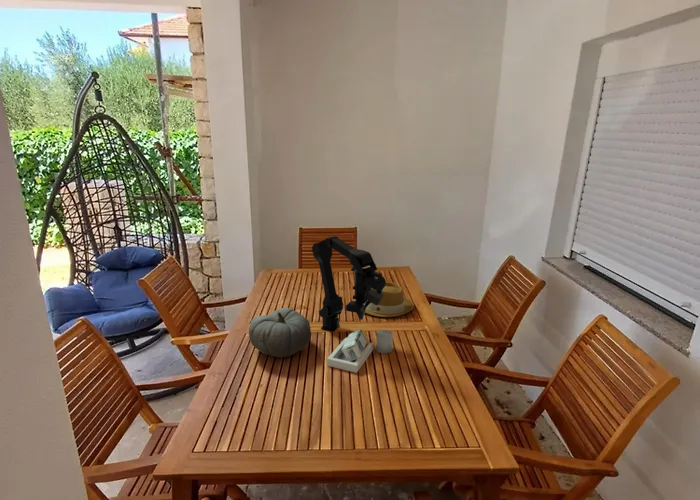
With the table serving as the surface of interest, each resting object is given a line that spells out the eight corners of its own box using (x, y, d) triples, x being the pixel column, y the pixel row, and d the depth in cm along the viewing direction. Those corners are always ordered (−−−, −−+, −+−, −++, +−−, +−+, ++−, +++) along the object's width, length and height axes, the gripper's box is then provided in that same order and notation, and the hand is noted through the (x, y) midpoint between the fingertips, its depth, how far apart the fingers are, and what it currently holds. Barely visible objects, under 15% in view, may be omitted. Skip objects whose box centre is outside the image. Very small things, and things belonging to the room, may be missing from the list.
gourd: (233, 352, 159) (238, 309, 156) (267, 333, 182) (272, 295, 179) (290, 371, 151) (297, 327, 148) (318, 349, 174) (324, 310, 171)
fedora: (368, 293, 223) (369, 272, 220) (420, 302, 211) (421, 281, 208) (346, 312, 200) (346, 289, 197) (403, 324, 188) (404, 300, 185)
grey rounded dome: (374, 351, 165) (374, 335, 163) (379, 343, 171) (379, 328, 168) (389, 354, 162) (389, 338, 160) (394, 347, 168) (394, 331, 166)
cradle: (327, 365, 155) (327, 358, 154) (345, 344, 170) (345, 337, 169) (356, 372, 150) (356, 365, 149) (372, 350, 166) (373, 343, 165)
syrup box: (367, 340, 167) (361, 357, 153) (355, 345, 169) (347, 362, 155) (361, 328, 167) (354, 344, 153) (348, 333, 168) (340, 349, 154)
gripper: (372, 295, 151) (372, 333, 155) (388, 278, 167) (387, 313, 172) (345, 290, 155) (345, 327, 159) (363, 274, 171) (362, 309, 176)
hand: (361, 319), depth 166 cm, fingers closed
